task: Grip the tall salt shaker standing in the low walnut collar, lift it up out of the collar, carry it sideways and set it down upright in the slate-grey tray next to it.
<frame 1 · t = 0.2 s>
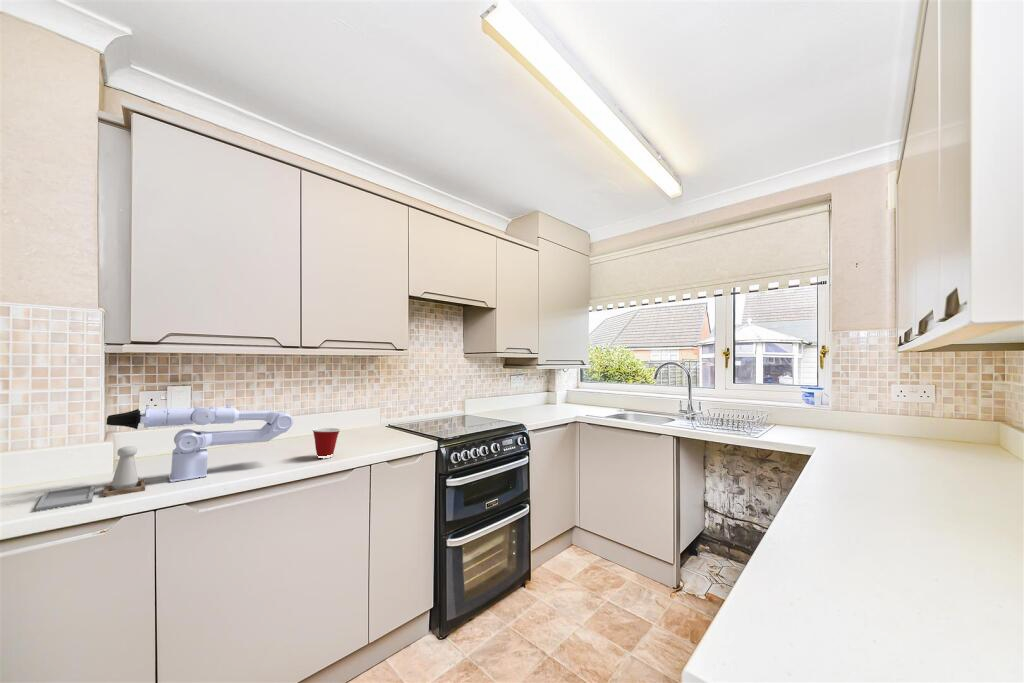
hand: (107, 420, 119), 21 cm above the counter, tool horizontal, fingers open, 7 cm apart
grey tray: (67, 498, 111), on the counter
salt shaker: (124, 490, 119), resting in walnut collar
walnut collar: (124, 489, 119), on the counter
plastic cup: (325, 457, 162), on the counter
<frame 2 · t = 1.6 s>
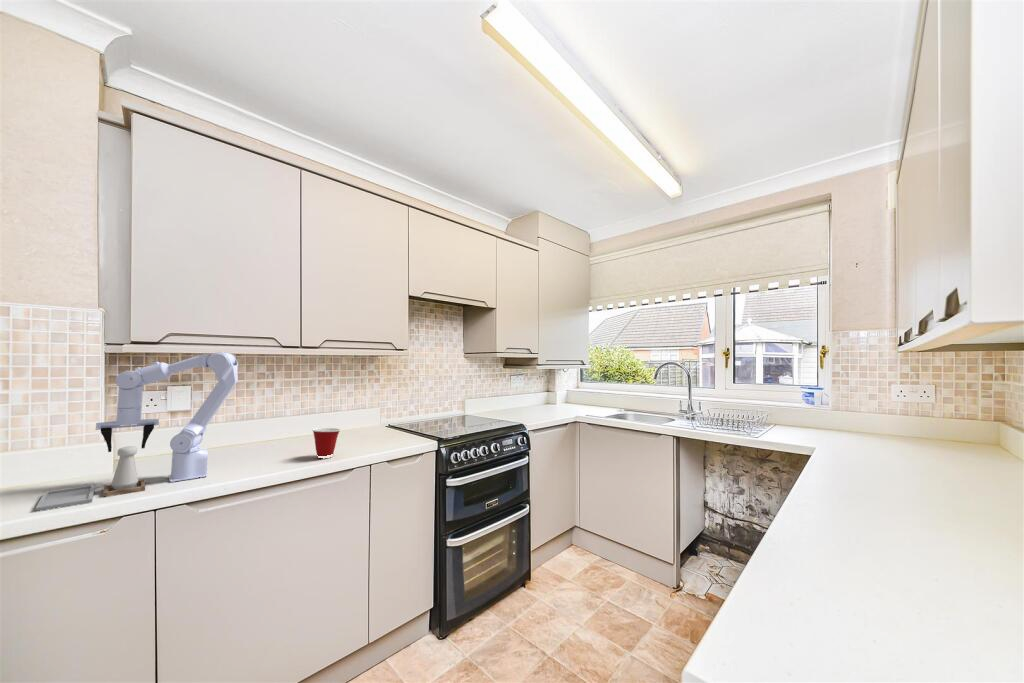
hand: (126, 449, 126), 10 cm above the counter, tool pointing down, fingers open, 7 cm apart
nothing on the counter moved.
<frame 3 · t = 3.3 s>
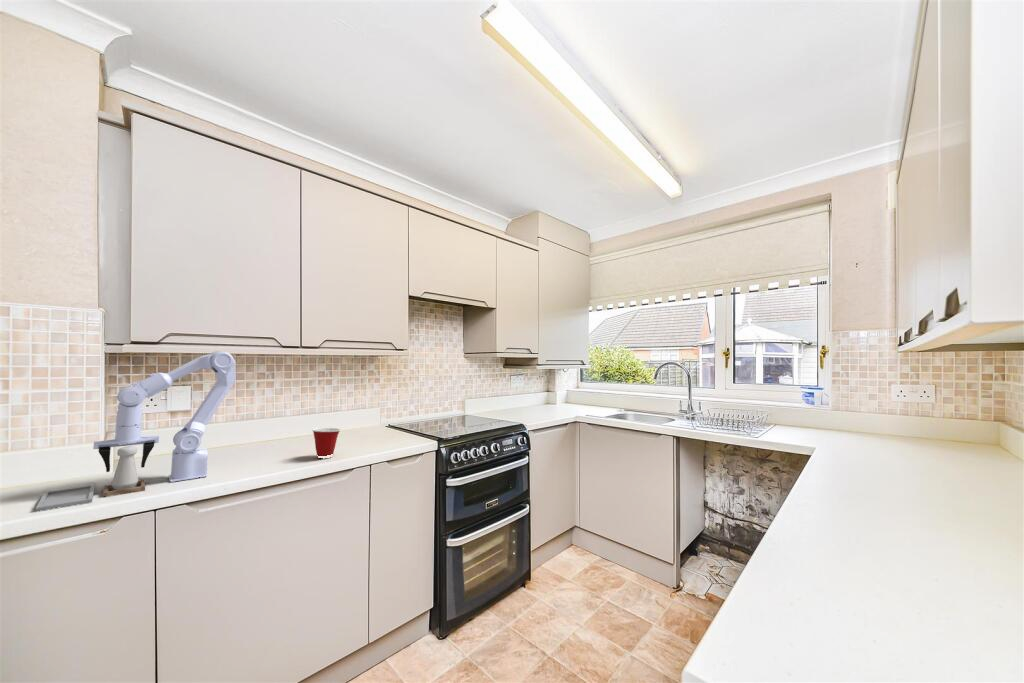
hand: (125, 469, 121), 6 cm above the counter, tool pointing down, fingers open, 7 cm apart
nothing on the counter moved.
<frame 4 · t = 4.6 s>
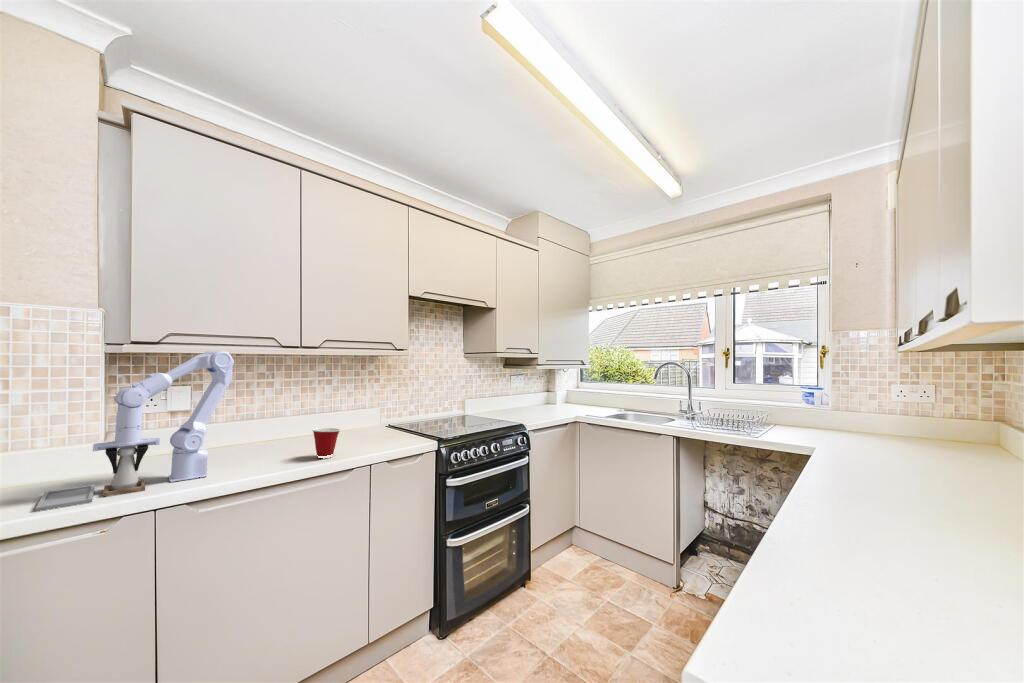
hand: (125, 471, 119), 6 cm above the counter, tool pointing down, fingers closed on salt shaker, 4 cm apart
salt shaker: (124, 490, 119), resting in walnut collar, touching gripper
everything else where it was.
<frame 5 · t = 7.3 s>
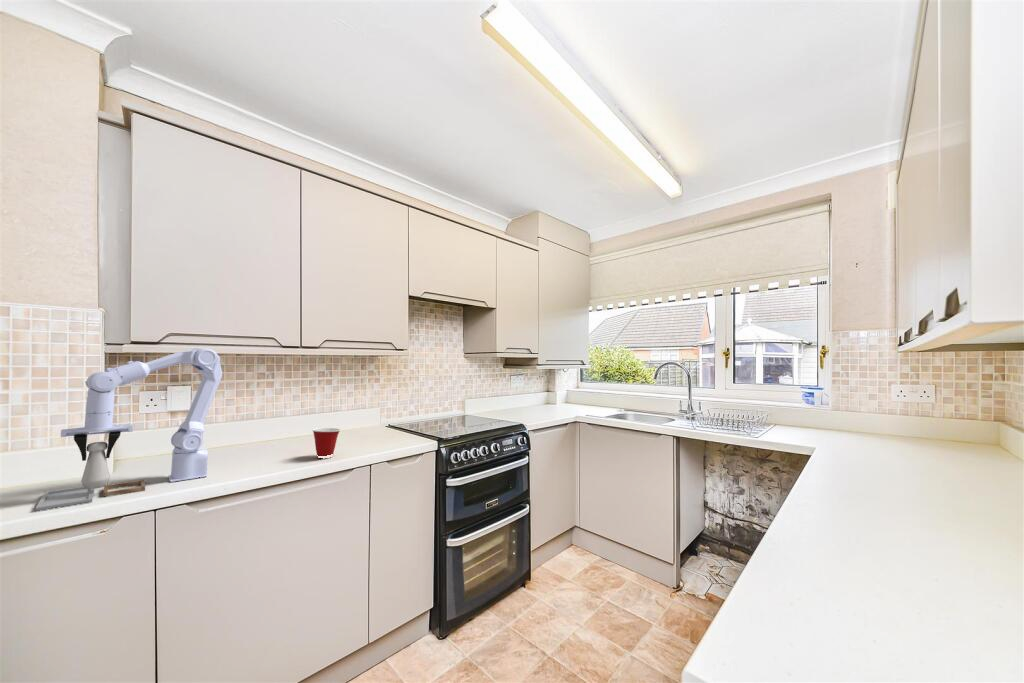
hand: (96, 458, 115), 10 cm above the counter, tool pointing down, fingers closed on salt shaker, 4 cm apart
salt shaker: (95, 487, 114), point 2 cm above the counter, touching gripper
everything else where it was.
when the fingers open (7 cm above the counter, at t = 9.0 s): salt shaker stays where it is, resting on grey tray.
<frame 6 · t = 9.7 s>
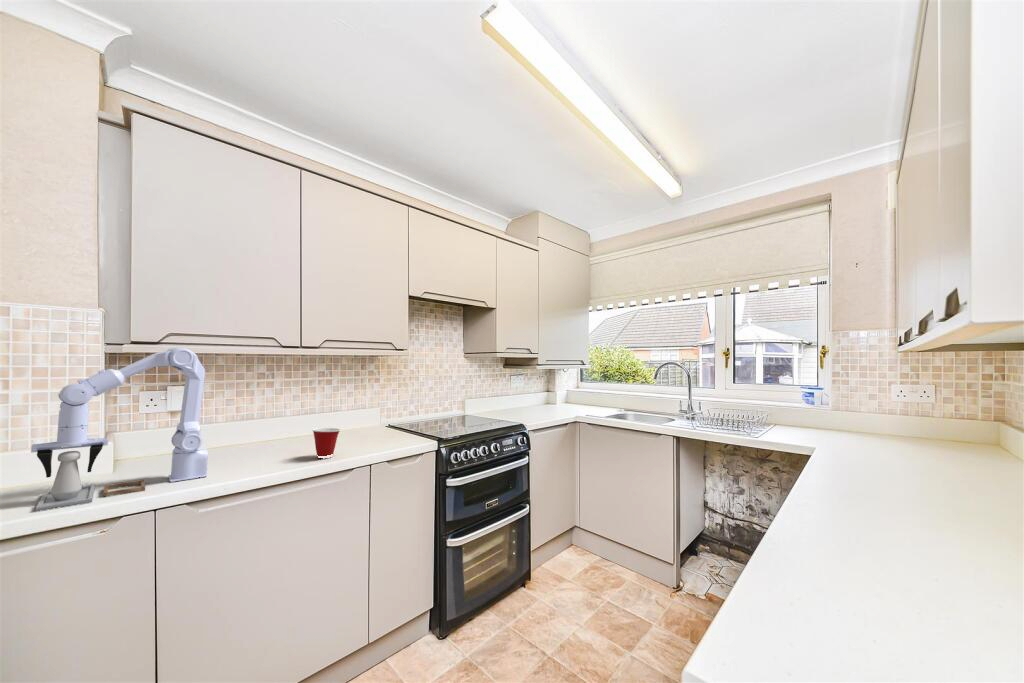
hand: (69, 473, 111), 7 cm above the counter, tool pointing down, fingers open, 7 cm apart
salt shaker: (65, 498, 110), resting on grey tray
everything else where it was.
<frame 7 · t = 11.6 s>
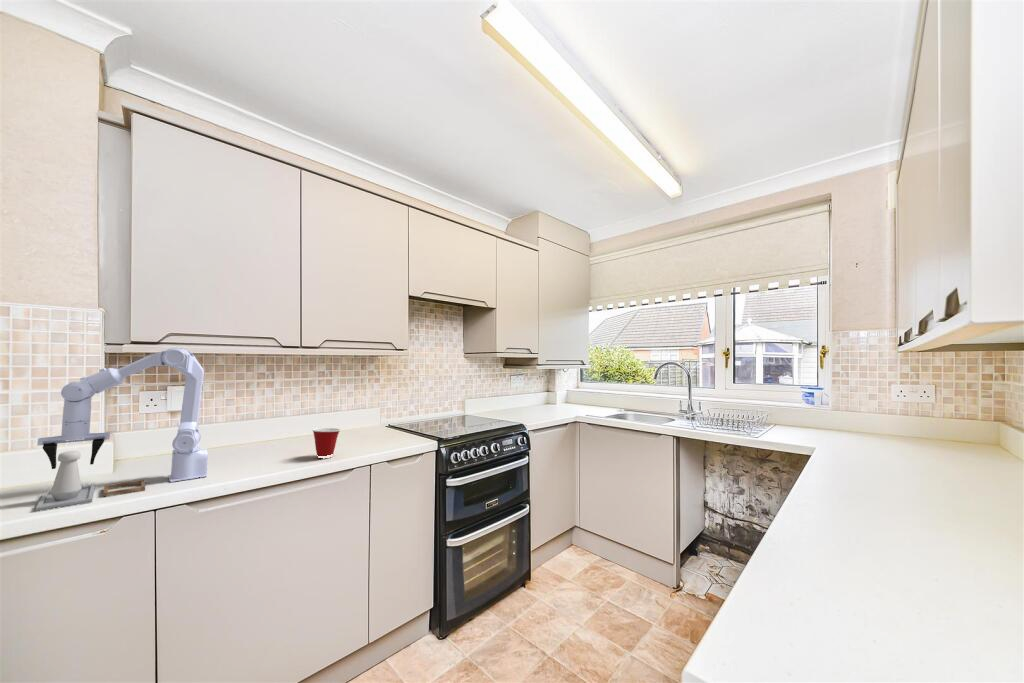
hand: (73, 466, 118), 7 cm above the counter, tool pointing down, fingers open, 7 cm apart
nothing on the counter moved.
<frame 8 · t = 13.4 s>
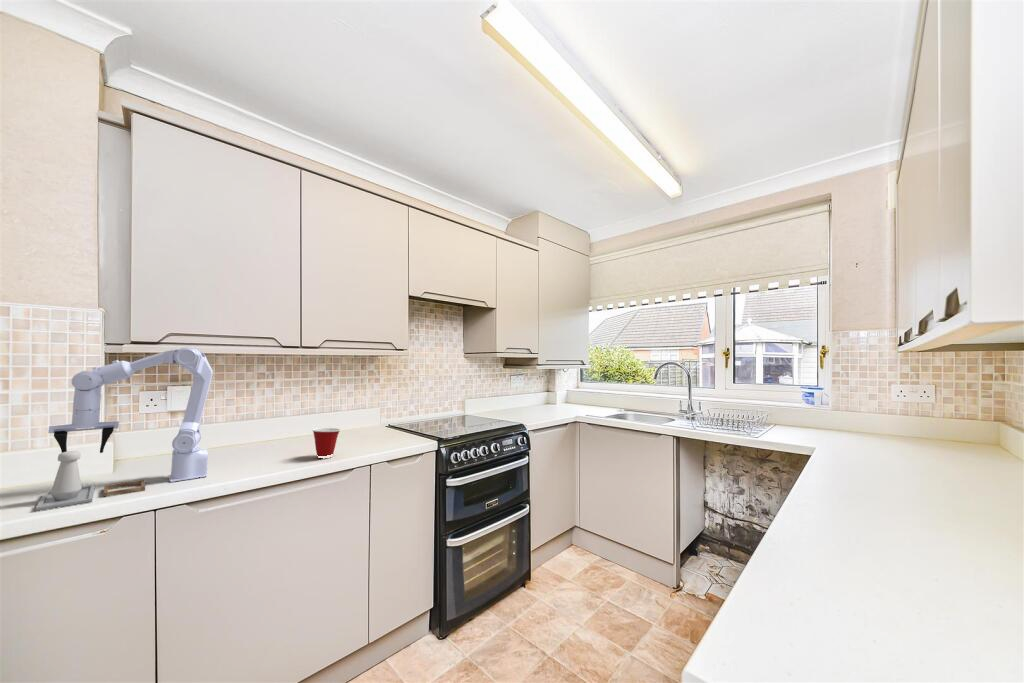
hand: (83, 454, 120), 10 cm above the counter, tool pointing down, fingers open, 7 cm apart
nothing on the counter moved.
at the end: salt shaker inside the target area on the grey tray (0.6 cm from its centre), point 0.2 cm above the grey tray's base; salt shaker tilted 0°; the gripper is holding nothing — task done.
